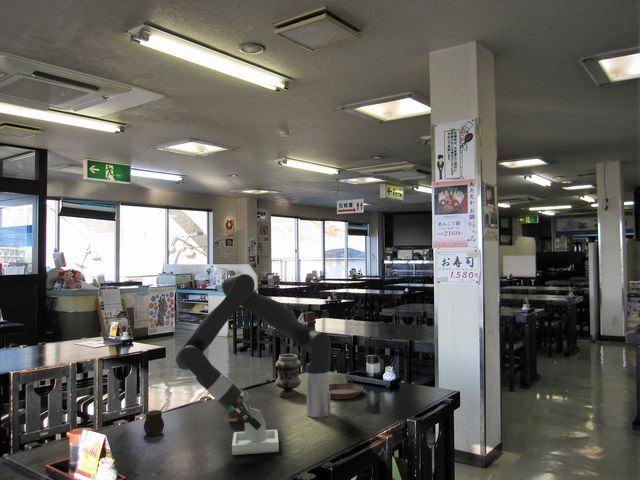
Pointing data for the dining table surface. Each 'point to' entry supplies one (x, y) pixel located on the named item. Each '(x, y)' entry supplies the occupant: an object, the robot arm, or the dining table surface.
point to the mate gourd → (154, 422)
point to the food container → (233, 416)
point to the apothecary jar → (288, 374)
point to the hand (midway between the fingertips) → (259, 423)
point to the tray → (249, 447)
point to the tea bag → (251, 432)
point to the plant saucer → (344, 390)
